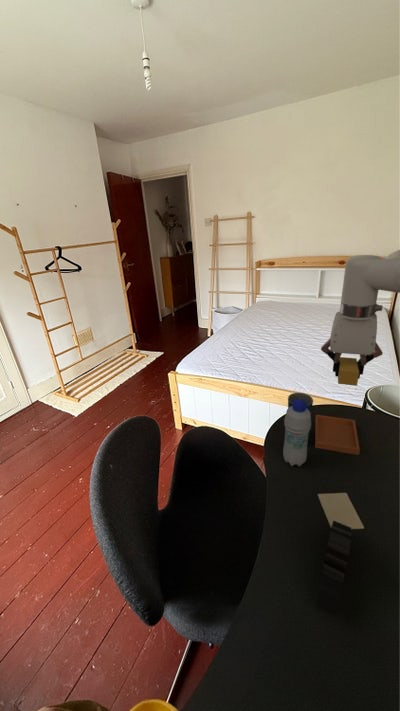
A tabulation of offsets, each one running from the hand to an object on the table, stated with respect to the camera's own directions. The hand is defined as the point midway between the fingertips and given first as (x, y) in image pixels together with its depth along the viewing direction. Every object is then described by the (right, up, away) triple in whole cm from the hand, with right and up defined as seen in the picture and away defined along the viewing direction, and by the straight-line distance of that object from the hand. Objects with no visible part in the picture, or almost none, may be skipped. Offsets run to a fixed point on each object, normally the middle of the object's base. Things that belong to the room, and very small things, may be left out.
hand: (346, 374), depth 79 cm
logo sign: (-13, -37, -21) cm, 45 cm away
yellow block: (0, -1, 0) cm, 1 cm away
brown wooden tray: (+2, -20, +12) cm, 23 cm away
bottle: (-13, -25, +4) cm, 28 cm away
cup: (-10, -21, +11) cm, 26 cm away
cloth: (-7, -31, -10) cm, 33 cm away
